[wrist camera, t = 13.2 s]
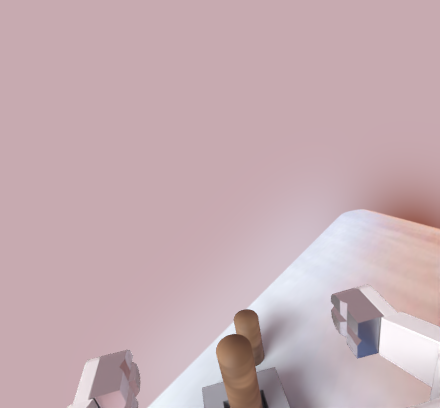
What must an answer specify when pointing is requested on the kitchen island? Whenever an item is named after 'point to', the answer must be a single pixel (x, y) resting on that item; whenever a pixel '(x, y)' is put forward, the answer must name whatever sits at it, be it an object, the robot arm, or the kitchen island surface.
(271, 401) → the socket block
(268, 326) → the kitchen island surface
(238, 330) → the short dowel
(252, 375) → the long dowel
